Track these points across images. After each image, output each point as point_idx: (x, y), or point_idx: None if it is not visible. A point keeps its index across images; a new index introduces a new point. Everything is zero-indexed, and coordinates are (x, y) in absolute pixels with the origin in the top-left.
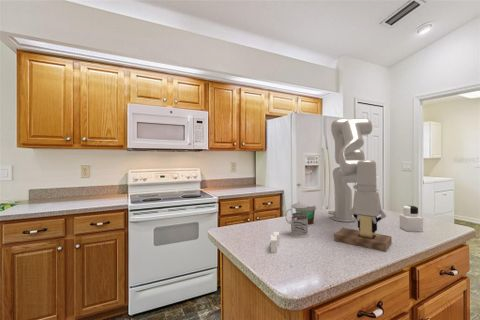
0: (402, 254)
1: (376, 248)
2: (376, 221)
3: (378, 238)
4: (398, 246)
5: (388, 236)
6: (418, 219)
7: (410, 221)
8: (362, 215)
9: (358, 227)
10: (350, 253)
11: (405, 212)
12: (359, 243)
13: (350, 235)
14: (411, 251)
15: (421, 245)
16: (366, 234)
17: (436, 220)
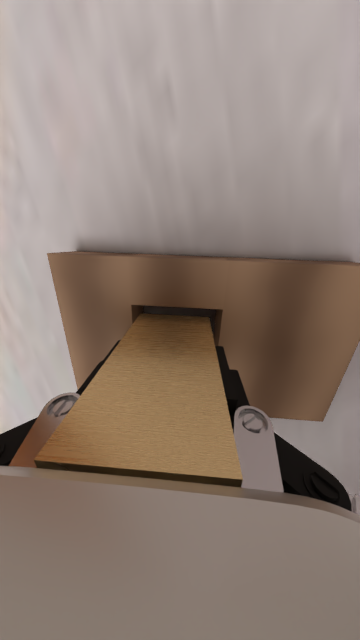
0: (13, 260)
1: (115, 253)
2: (42, 414)
3: (113, 335)
4: (65, 355)
5: None
6: None
7: None
8: (196, 481)
9: (232, 369)
10: (227, 44)
11: None
12: (202, 257)
13: (269, 299)
14: (9, 323)
15: (17, 405)
16: (169, 322)
17: None
